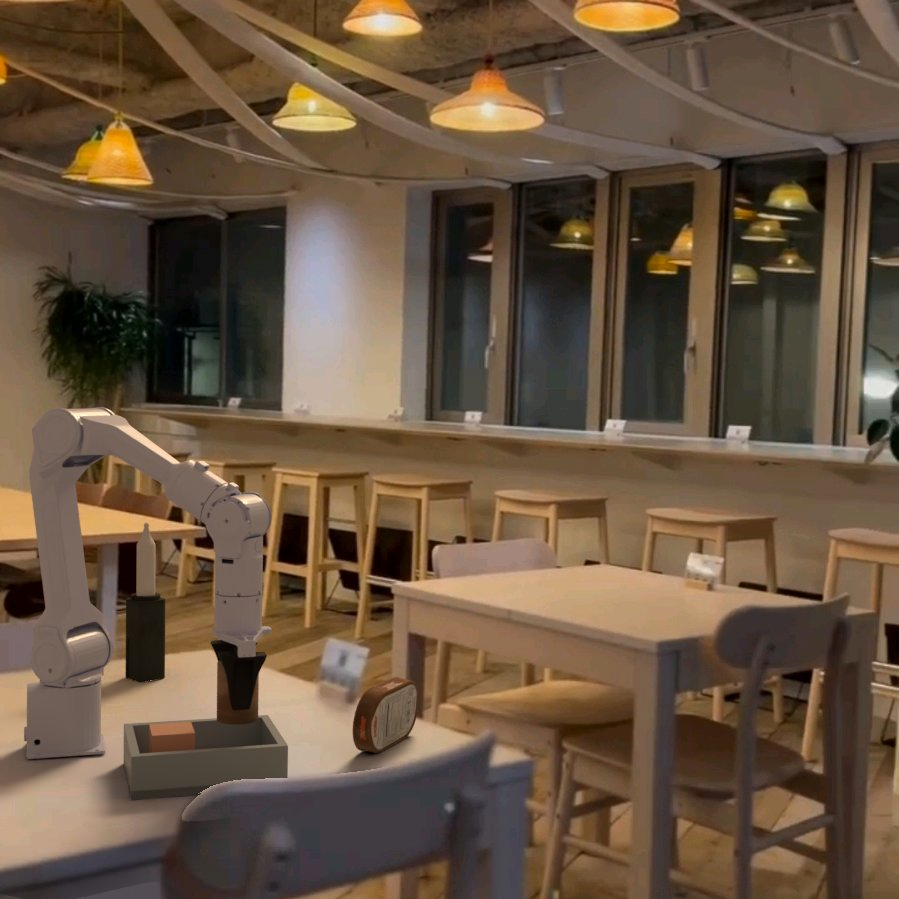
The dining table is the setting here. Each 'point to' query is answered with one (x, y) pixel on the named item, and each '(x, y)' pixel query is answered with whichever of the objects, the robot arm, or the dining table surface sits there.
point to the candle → (145, 619)
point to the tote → (203, 758)
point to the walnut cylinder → (224, 706)
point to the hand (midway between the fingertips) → (237, 703)
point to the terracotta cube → (171, 737)
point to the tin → (385, 715)
